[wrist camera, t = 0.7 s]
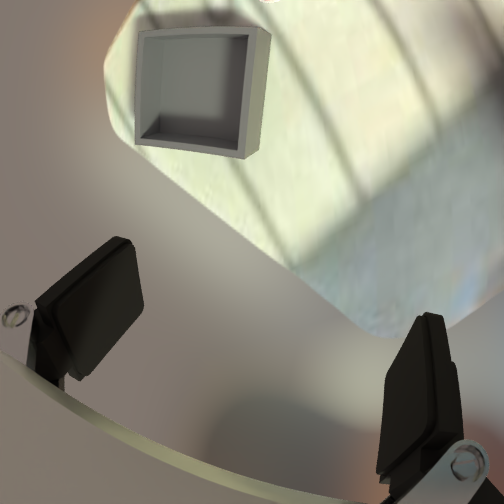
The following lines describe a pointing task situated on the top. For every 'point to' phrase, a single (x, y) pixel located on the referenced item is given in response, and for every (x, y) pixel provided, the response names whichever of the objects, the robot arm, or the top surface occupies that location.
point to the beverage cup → (269, 1)
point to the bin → (202, 89)
